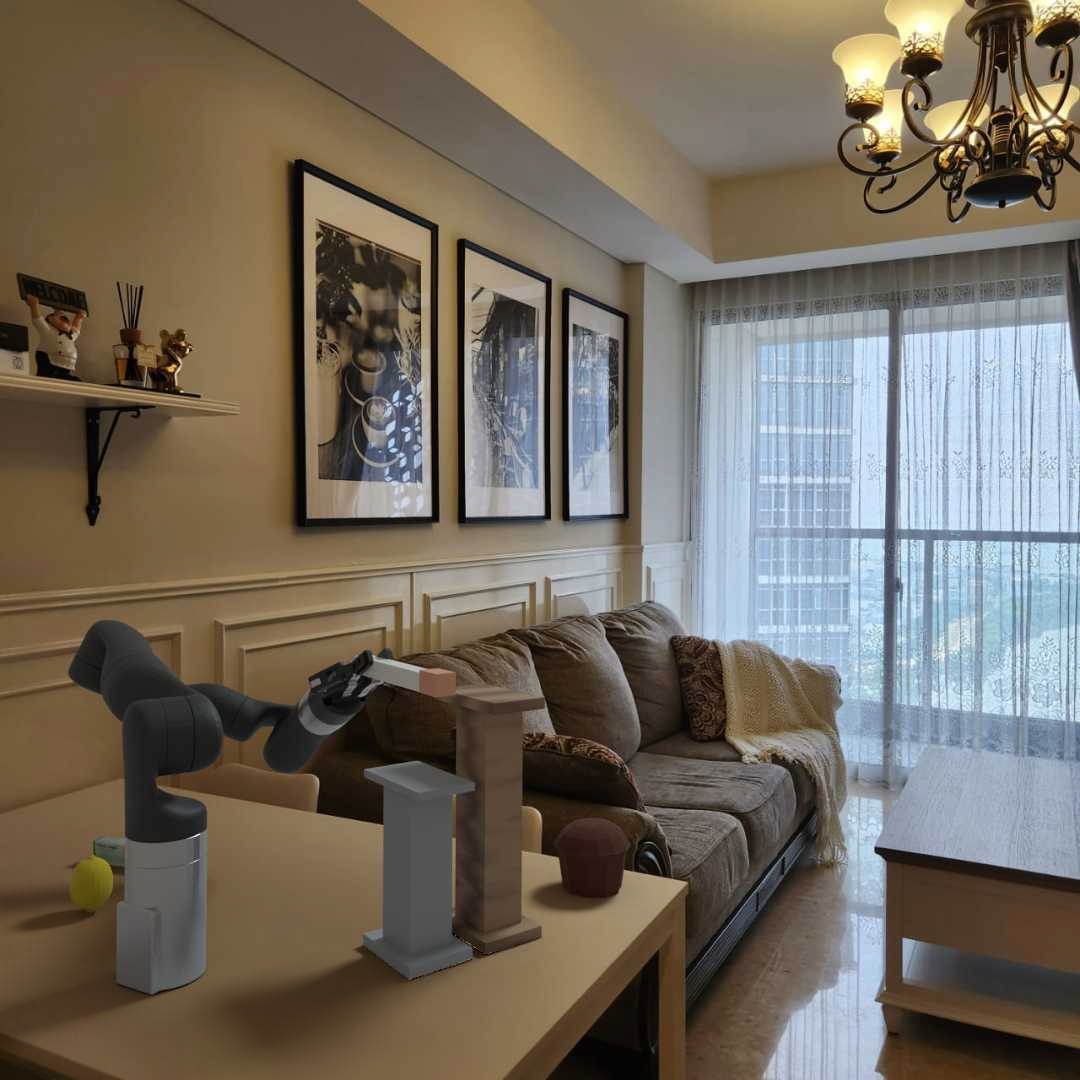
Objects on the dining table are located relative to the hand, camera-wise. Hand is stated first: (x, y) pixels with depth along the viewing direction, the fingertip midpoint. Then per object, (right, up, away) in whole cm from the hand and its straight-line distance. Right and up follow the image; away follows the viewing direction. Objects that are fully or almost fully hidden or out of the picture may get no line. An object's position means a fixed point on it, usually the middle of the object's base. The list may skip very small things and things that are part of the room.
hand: (379, 655), depth 126 cm
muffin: (+30, -37, +15) cm, 50 cm away
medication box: (-44, -37, +22) cm, 62 cm away
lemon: (-41, -37, +4) cm, 55 cm away
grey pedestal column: (+6, -37, -8) cm, 38 cm away
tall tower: (+15, -37, -1) cm, 40 cm away
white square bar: (+4, -3, -5) cm, 7 cm away
